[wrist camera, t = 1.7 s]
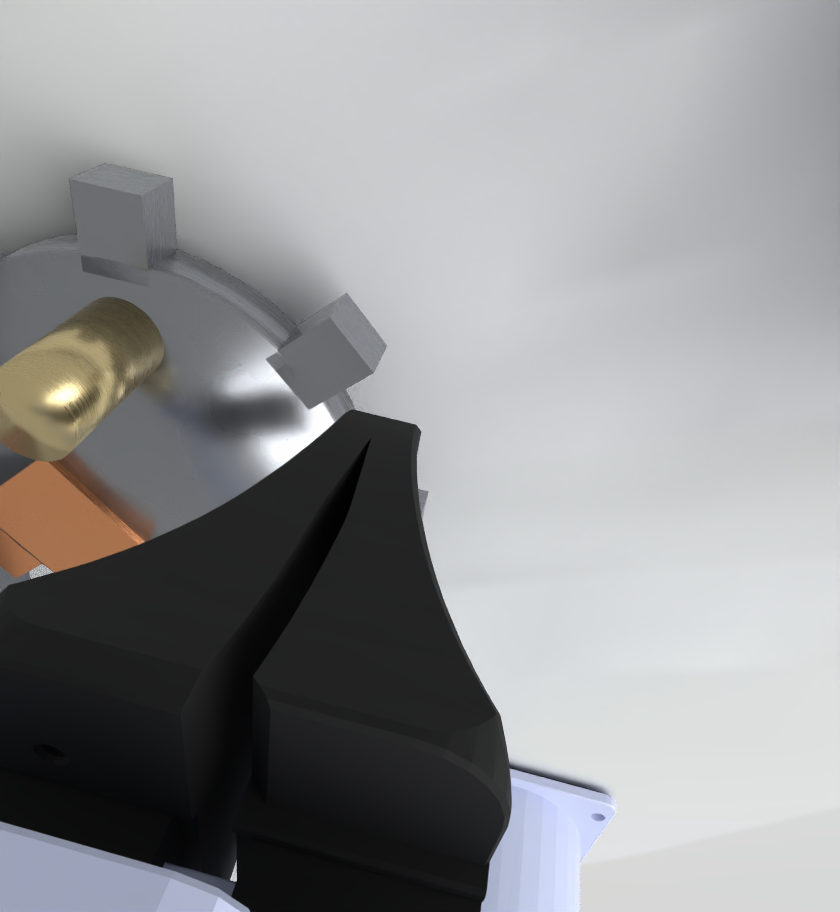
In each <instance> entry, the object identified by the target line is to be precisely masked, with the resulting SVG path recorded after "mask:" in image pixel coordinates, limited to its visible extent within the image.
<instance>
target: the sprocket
mask: <svg viewBox="0 0 840 912" xmlns="http://www.w3.org/2000/svg"><path fill="white" fill-rule="evenodd" d="M69 183H70V189H71V196H72V203H73V209H74V216H75V222H76V229H77V234H75V235H67V236H59V237H53V238H49V239H46V240H43V241H40V242H36V243H33V244H30V245H27V246H25V247H23V248H21V249H20V250H18V251H16V252H14V253H12V254H10V255H8V256H5V255H4V254H3V253H2V252H1V251H0V566H1V567H2V568H3V569H4V570H6V571H7V572H8V573H9V574H11V575H12V576H13V577H14V578H18V577H20V576H21V575H23V574H25V573H27V572H28V571H30V570H32V569H34V568H35V567H37V566H39V565H41V564H43V565H45V566H46V567H48V568H49V569H50V570H52V571H53V572H54V573H55V572H58V571H62V570H65V569H69V568H72V567H76V566H79V565H82V564H85V563H88V562H92V561H95V560H98V559H100V558H103V557H106V556H109V555H112V554H115V553H118V552H121V551H123V550H126V549H128V548H131V547H134V546H136V545H139V544H141V543H144V542H146V541H149V540H151V539H154V538H156V537H158V536H160V535H162V534H165V533H167V532H169V531H171V530H173V529H176V528H178V527H180V526H182V525H184V524H186V523H188V522H190V521H192V520H195V519H197V518H199V517H201V516H202V515H204V514H206V513H208V512H210V511H212V510H213V509H215V508H217V507H219V506H221V505H222V504H224V503H226V502H228V501H229V500H231V499H233V498H234V497H236V496H238V495H239V494H241V493H242V492H244V491H246V490H247V489H249V488H250V487H252V486H253V485H255V484H256V483H257V482H259V481H260V480H262V479H263V478H265V477H266V476H268V475H269V474H271V473H272V472H274V471H275V470H276V469H278V468H279V467H281V466H282V465H283V464H285V463H286V462H287V461H288V460H290V459H291V458H292V457H294V456H295V455H296V454H298V453H299V452H300V451H301V450H303V449H304V448H305V447H307V446H308V445H309V444H310V443H311V442H313V441H314V440H315V439H316V438H317V437H319V436H320V435H321V434H322V433H323V432H324V431H326V430H327V429H328V428H329V427H330V426H331V425H332V424H333V423H335V422H336V421H337V420H338V419H339V418H340V417H341V416H342V415H343V414H344V413H346V412H348V411H349V410H351V409H353V410H355V407H354V405H353V402H352V400H351V399H350V397H349V395H348V393H347V391H346V390H345V389H347V388H348V387H350V386H352V385H354V384H355V383H357V382H359V381H360V380H362V379H364V378H366V377H367V376H369V375H371V374H373V373H374V371H375V369H376V367H377V365H378V363H379V361H380V359H381V357H382V355H383V353H384V351H385V349H386V347H387V345H386V344H385V342H384V341H383V340H382V338H381V337H380V336H379V334H378V333H377V332H376V330H375V329H374V328H373V327H372V325H371V324H370V323H369V321H368V320H367V319H366V317H365V316H364V315H363V313H362V312H361V311H360V309H359V308H358V307H357V305H356V304H355V303H354V302H353V300H352V299H351V298H350V296H349V295H348V294H347V293H346V294H344V295H343V296H341V297H340V298H338V299H337V300H335V301H334V302H332V303H331V304H329V305H328V306H326V307H325V308H323V309H322V310H320V311H319V312H317V313H316V314H314V315H312V316H311V317H309V318H308V319H306V320H305V321H303V322H302V323H300V324H299V325H296V324H295V323H294V322H292V321H291V320H290V319H289V318H288V317H287V316H286V315H285V314H283V313H282V312H281V311H280V310H279V309H278V308H277V307H276V306H274V305H273V304H272V303H271V302H270V301H268V300H267V299H266V298H264V297H263V296H261V295H260V294H259V293H257V292H256V291H254V290H253V289H252V288H250V287H249V286H247V285H246V284H245V283H243V282H242V281H240V280H238V279H237V278H235V277H233V276H231V275H230V274H228V273H226V272H224V271H223V270H221V269H219V268H217V267H215V266H214V265H212V264H210V263H208V262H205V261H203V260H201V259H198V258H196V257H194V256H191V255H189V254H187V253H184V252H182V251H180V250H177V241H176V225H175V208H174V192H173V178H169V177H165V176H160V175H156V174H151V173H147V172H142V171H138V170H134V169H129V168H125V167H120V166H116V165H112V164H107V163H104V164H102V165H99V166H97V167H95V168H93V169H90V170H88V171H86V172H83V173H81V174H79V175H77V176H74V177H72V178H70V179H69ZM418 493H419V502H420V510H421V516H422V518H423V514H424V509H425V505H426V500H427V496H428V491H424V490H420V489H418Z"/></svg>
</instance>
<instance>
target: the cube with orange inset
mask: <svg viewBox="0 0 840 912" xmlns="http://www.w3.org/2000/svg"><path fill="white" fill-rule="evenodd" d="M30 579H31V578H30V574H29V571H28V572H27V573H25V574H23V575H21V576H20V577H18V578H14V577H13V576H12V575H11V574H9V573H8V572H7V571H6V570H4V569H3V568H2V567H1V566H0V593H1V592H2V591H3V590H4V589H5V588H6V587H7V586H8V585H10V584H14V583H18V582H22V581H26V580H30Z"/></svg>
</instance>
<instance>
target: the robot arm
mask: <svg viewBox="0 0 840 912" xmlns="http://www.w3.org/2000/svg"><path fill="white" fill-rule="evenodd" d="M420 436H421V431H420V429H419V428H418V426H417V425H415V424H411V423H406V422H402V421H398V420H394V419H390V418H386V417H382V416H378V415H373V414H369V413H365V412H361V411H357V410H353V409H351V410H349V411H348V412H346V413H344V414H343V415H342V416H341V417H340V418H339V419H338V420H337V421H336V422H335V423H333V424H332V425H331V426H330V427H329V428H328V429H327V430H326V431H324V432H323V433H322V434H321V435H320V436H319V437H317V438H316V439H315V440H314V441H313V442H311V443H310V444H309V445H308V446H307V447H305V448H304V449H303V450H301V451H300V452H299V453H298V454H296V455H295V456H294V457H292V458H291V459H290V460H288V461H287V462H286V463H285V464H283V465H282V466H281V467H279V468H278V469H276V470H275V471H274V472H272V473H271V474H269V475H268V476H266V477H265V478H263V479H262V480H260V481H259V482H257V483H256V484H255V485H253V486H252V487H250V488H249V489H247V490H246V491H244V492H242V493H241V494H239V495H238V496H236V497H234V498H233V499H231V500H229V501H228V502H226V503H224V504H222V505H221V506H219V507H217V508H215V509H213V510H212V511H210V512H208V513H206V514H204V515H202V516H201V517H199V518H197V519H195V520H192V521H190V522H188V523H186V524H184V525H182V526H180V527H178V528H176V529H173V530H171V531H169V532H167V533H165V534H162V535H160V536H158V537H156V538H154V539H151V540H149V541H146V542H144V543H141V544H139V545H136V546H134V547H131V548H128V549H126V550H123V551H121V552H118V553H115V554H112V555H109V556H106V557H103V558H100V559H98V560H95V561H92V562H88V563H85V564H82V565H79V566H76V567H72V568H69V569H65V570H62V571H58V572H55V573H51V574H47V575H44V576H40V577H37V578H33V579H30V580H26V581H22V582H18V583H14V584H10V585H8V586H7V587H6V588H5V589H4V590H3V591H2V592H1V593H0V912H580V863H581V862H582V860H583V859H584V857H585V856H586V855H587V853H588V852H589V850H590V849H591V848H592V846H593V845H594V843H595V842H596V840H597V839H598V838H599V836H600V835H601V833H602V832H603V831H604V829H605V828H606V826H607V825H608V824H609V822H610V821H611V819H612V818H613V817H614V815H615V814H616V811H617V810H616V801H615V799H614V798H612V797H611V796H609V795H606V794H603V793H599V792H595V791H592V790H588V789H584V788H581V787H577V786H573V785H570V784H566V783H562V782H558V781H555V780H551V779H547V778H544V777H540V776H536V775H532V774H529V773H525V772H521V771H518V770H514V769H510V766H509V759H508V753H507V747H506V741H505V736H504V731H503V726H502V721H501V716H500V714H499V712H498V710H497V709H496V707H495V705H494V704H493V702H492V700H491V699H490V697H489V695H488V694H487V692H486V690H485V688H484V686H483V684H482V683H481V681H480V679H479V677H478V675H477V673H476V672H475V670H474V668H473V666H472V663H471V661H470V659H469V657H468V655H467V653H466V651H465V649H464V647H463V645H462V643H461V641H460V638H459V636H458V633H457V631H456V629H455V626H454V624H453V621H452V619H451V617H450V614H449V612H448V609H447V607H446V605H445V602H444V599H443V596H442V593H441V590H440V587H439V584H438V581H437V578H436V575H435V572H434V568H433V565H432V561H431V558H430V554H429V550H428V546H427V541H426V537H425V532H424V527H423V522H422V516H421V510H420V502H419V493H418V484H417V451H418V446H419V441H420ZM236 860H237V881H236V882H234V881H230V878H231V875H232V872H233V869H234V866H235V863H236Z"/></svg>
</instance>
